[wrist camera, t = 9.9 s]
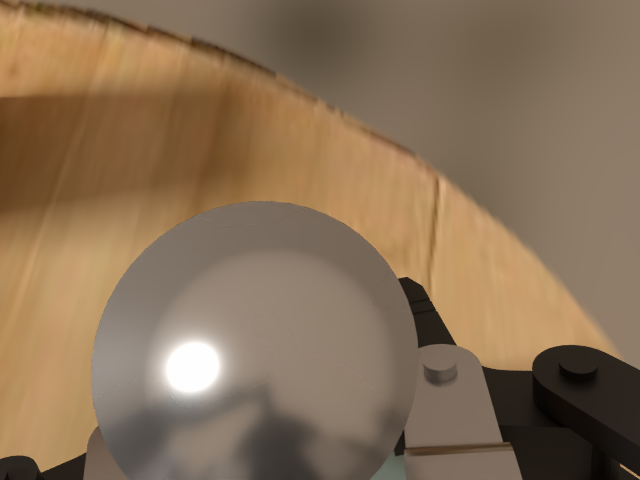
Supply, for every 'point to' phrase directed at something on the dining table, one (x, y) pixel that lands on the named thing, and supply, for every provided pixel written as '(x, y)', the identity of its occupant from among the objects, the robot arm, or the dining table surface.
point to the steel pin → (255, 351)
